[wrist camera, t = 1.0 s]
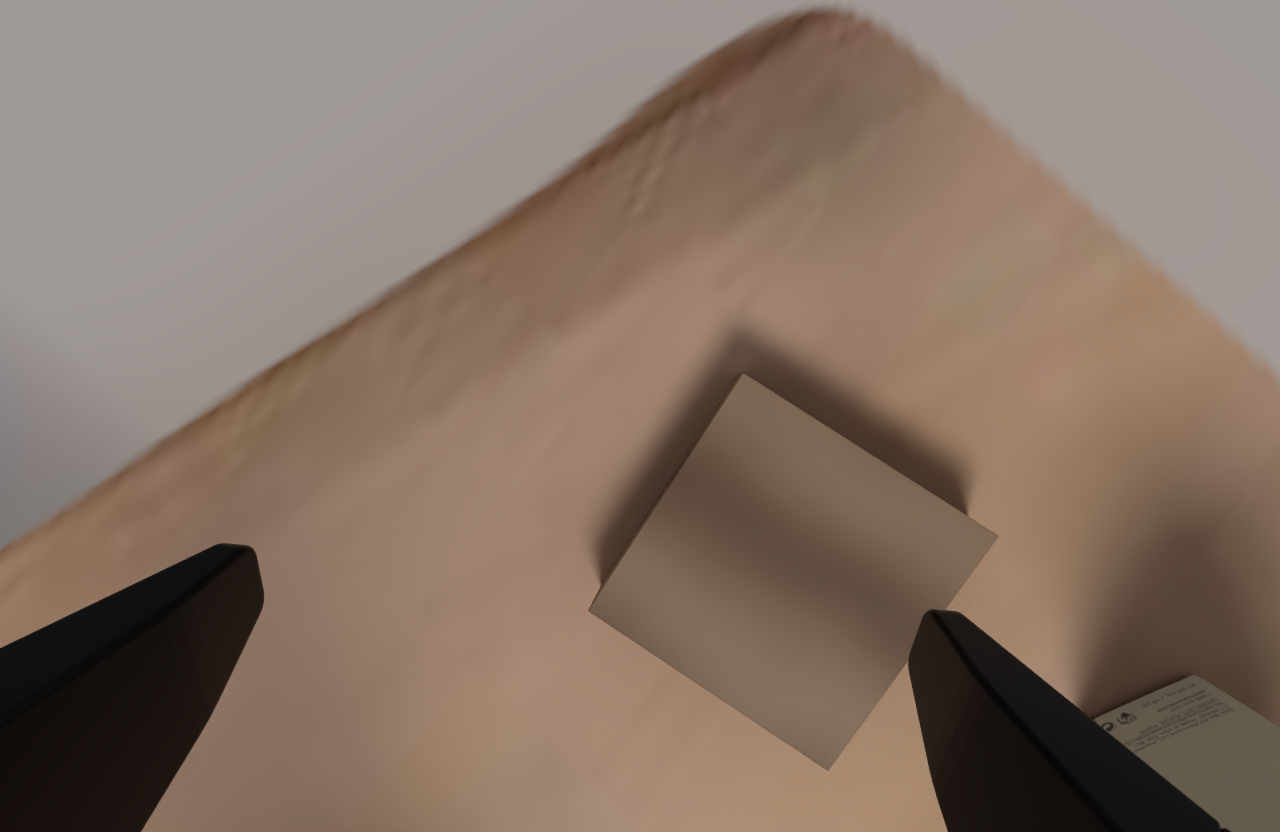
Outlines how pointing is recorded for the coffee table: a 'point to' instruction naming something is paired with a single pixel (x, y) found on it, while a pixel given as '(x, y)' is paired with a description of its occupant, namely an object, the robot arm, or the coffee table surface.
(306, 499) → the coffee table surface
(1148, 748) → the skincare box
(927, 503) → the walnut plinth
